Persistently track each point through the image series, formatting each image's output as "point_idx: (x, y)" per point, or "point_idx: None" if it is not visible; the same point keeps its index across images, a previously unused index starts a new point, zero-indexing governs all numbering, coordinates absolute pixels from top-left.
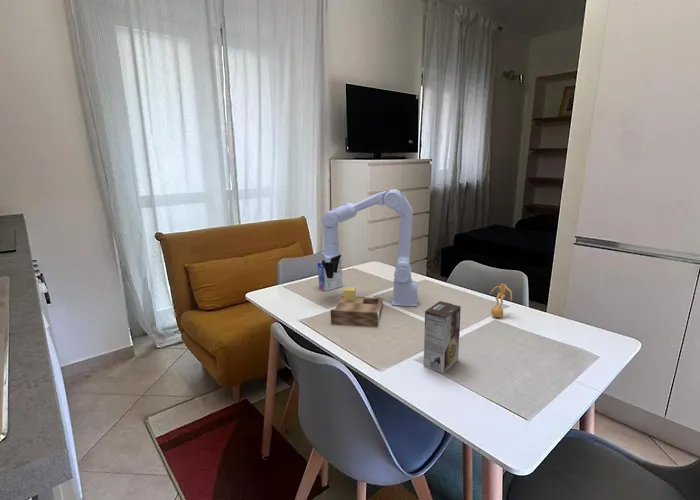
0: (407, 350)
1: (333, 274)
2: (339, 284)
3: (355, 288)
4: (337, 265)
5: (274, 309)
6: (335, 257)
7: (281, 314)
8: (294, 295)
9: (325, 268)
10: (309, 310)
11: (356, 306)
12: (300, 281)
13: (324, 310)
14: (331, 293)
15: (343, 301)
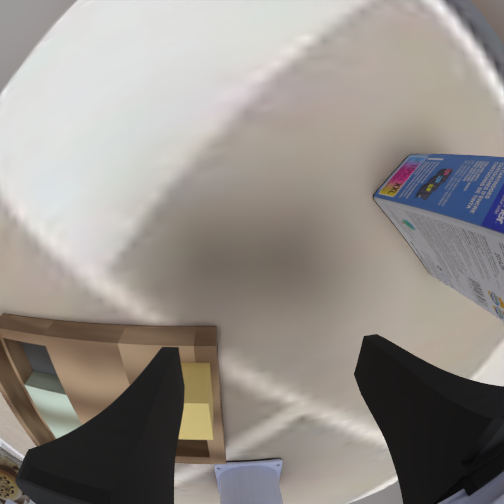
0: (14, 443)
1: (177, 419)
2: (431, 268)
3: (202, 437)
4: (382, 430)
5: (75, 19)
6: (429, 486)
7: (25, 80)
8: (286, 30)
9: (99, 424)
10: (70, 187)
11: (105, 406)
12: (472, 58)
13: (87, 263)
14: (343, 240)
15: (137, 361)
